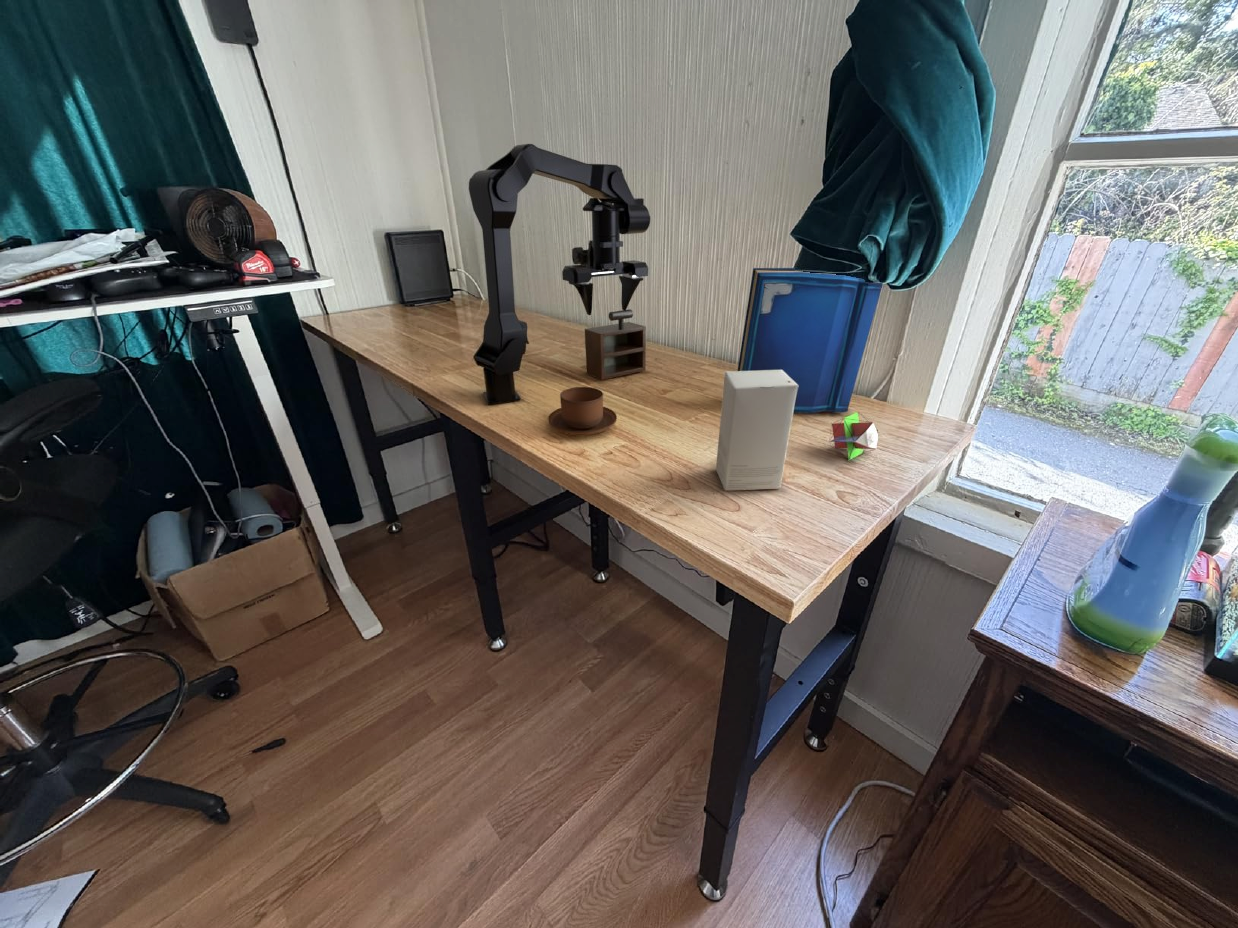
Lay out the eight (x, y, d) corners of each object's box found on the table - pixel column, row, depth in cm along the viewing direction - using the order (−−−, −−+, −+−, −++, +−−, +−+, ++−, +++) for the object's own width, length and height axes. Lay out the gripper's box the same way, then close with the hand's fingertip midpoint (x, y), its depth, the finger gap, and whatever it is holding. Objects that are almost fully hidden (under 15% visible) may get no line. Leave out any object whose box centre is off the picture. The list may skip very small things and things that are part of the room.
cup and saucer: (535, 425, 88) (533, 392, 85) (589, 408, 95) (588, 378, 92) (575, 448, 80) (573, 413, 77) (630, 428, 87) (631, 395, 84)
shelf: (583, 310, 106) (599, 314, 102) (628, 304, 112) (646, 308, 108) (586, 373, 113) (601, 379, 108) (629, 364, 119) (645, 370, 114)
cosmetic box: (768, 468, 74) (785, 368, 67) (782, 491, 68) (802, 385, 61) (712, 469, 74) (723, 368, 67) (722, 492, 68) (735, 385, 61)
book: (843, 403, 98) (875, 268, 86) (854, 417, 91) (890, 274, 79) (732, 398, 99) (748, 266, 87) (736, 412, 93) (754, 272, 81)
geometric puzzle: (809, 435, 79) (846, 408, 73) (833, 425, 83) (870, 397, 77) (836, 473, 77) (876, 448, 71) (859, 460, 81) (899, 435, 75)
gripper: (621, 231, 113) (621, 302, 121) (548, 235, 104) (553, 311, 112) (650, 234, 105) (648, 310, 112) (573, 238, 96) (576, 320, 103)
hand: (606, 312), depth 110 cm, fingers open, 9 cm apart
